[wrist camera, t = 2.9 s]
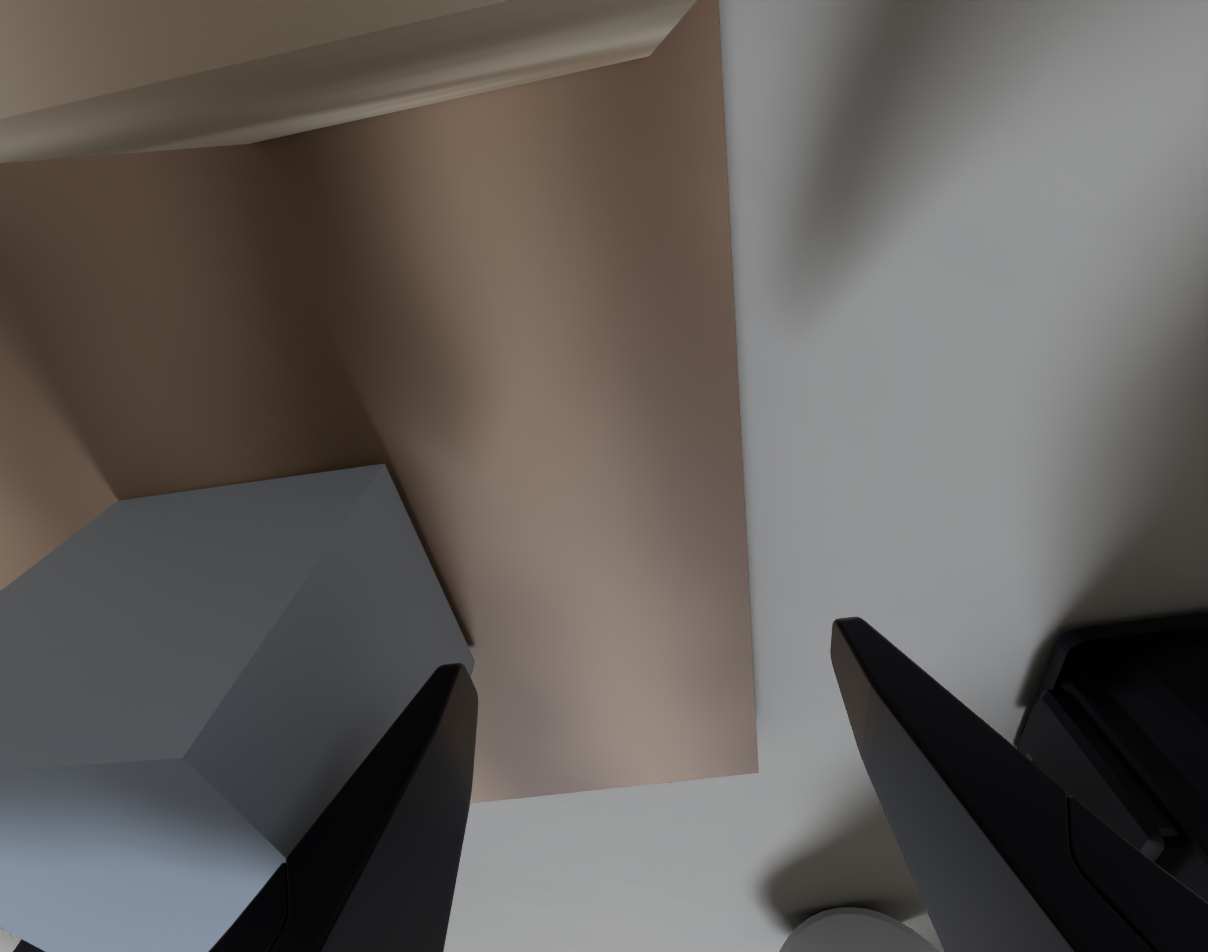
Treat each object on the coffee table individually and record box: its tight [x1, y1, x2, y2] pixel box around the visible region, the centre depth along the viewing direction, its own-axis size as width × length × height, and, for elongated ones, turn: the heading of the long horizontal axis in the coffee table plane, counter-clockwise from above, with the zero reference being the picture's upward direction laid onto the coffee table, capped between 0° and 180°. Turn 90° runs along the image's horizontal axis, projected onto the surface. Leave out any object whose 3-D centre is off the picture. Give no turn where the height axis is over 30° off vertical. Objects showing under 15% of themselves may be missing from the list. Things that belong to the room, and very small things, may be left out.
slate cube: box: [0, 464, 475, 952], centre depth 11 cm, size 6×6×6 cm
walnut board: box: [0, 0, 759, 803], centre depth 13 cm, size 27×25×1 cm
